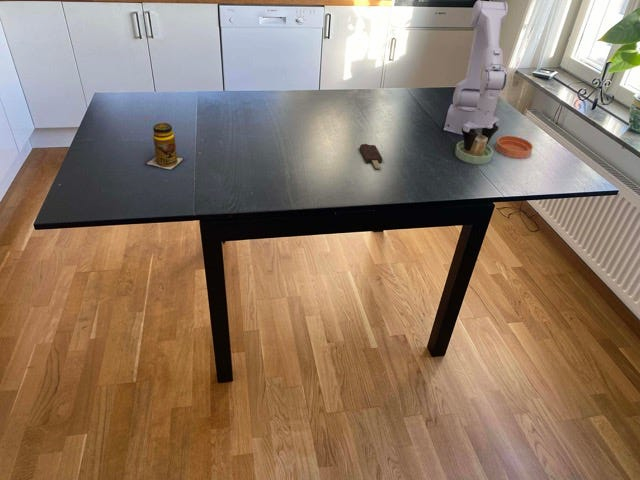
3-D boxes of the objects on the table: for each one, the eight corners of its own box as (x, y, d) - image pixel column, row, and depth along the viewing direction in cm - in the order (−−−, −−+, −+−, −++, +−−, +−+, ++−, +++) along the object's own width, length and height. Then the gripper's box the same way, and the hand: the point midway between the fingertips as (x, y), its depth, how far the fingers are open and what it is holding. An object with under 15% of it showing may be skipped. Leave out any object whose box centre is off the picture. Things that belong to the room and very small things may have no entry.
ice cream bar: (386, 170, 159) (373, 148, 171) (386, 165, 158) (374, 143, 170) (369, 170, 158) (358, 148, 170) (370, 166, 157) (359, 144, 169)
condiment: (171, 170, 151) (166, 133, 144) (146, 164, 153) (140, 127, 146) (183, 159, 157) (179, 123, 149) (159, 153, 158) (154, 118, 151)
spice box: (473, 159, 167) (478, 140, 163) (463, 153, 170) (468, 134, 166) (482, 157, 169) (488, 137, 165) (472, 151, 172) (477, 132, 168)
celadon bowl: (450, 158, 168) (452, 150, 166) (459, 145, 176) (461, 137, 175) (486, 168, 164) (488, 160, 162) (493, 154, 172) (496, 146, 171)
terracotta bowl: (491, 153, 173) (493, 145, 171) (498, 140, 181) (500, 132, 179) (526, 163, 169) (529, 155, 167) (532, 149, 177) (535, 141, 175)
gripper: (479, 117, 154) (468, 157, 162) (510, 109, 160) (499, 148, 169) (462, 108, 158) (452, 147, 167) (494, 101, 165) (483, 139, 173)
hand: (475, 147), depth 168 cm, fingers open, 7 cm apart
